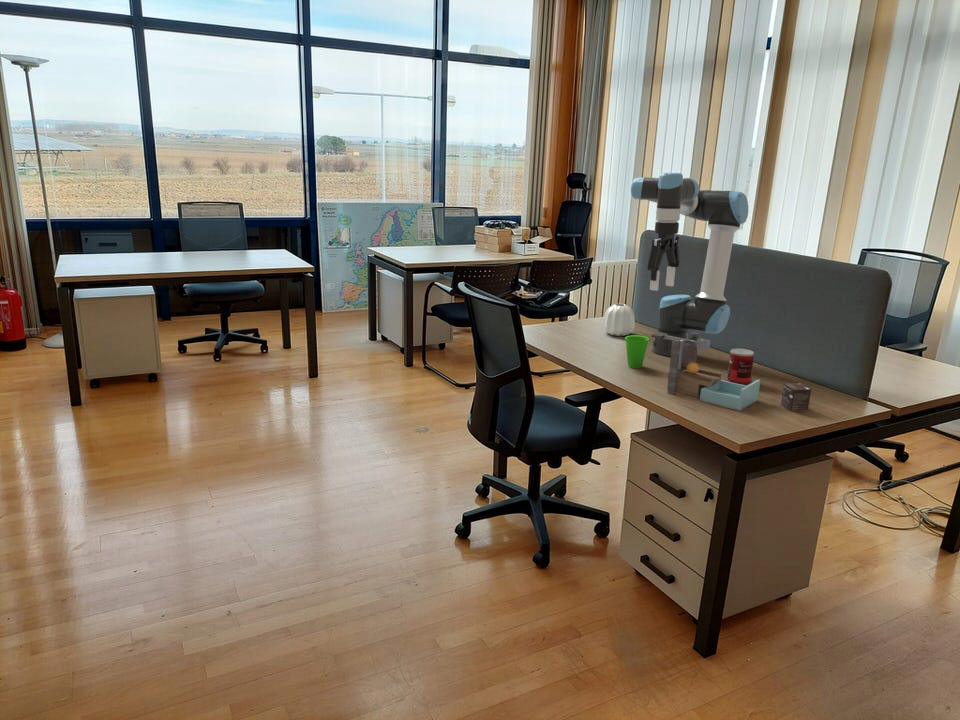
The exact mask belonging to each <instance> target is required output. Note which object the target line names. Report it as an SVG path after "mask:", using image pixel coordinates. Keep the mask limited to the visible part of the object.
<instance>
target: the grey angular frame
mask: <svg viewBox="0 0 960 720" xmlns="http://www.w3.org/2000/svg"><path fill="white" fill-rule="evenodd" d="M691 336H694V337H695V339H694V341H698V340H699V339H700V337H699V336H700V333H699V332H695V331H691V332H690V336H689V337H691ZM680 342H681V341H680V340H675V339H673V340H672V348H671V356H670V358H669V359H670V360H669V362H670V363H669V370H668V371H669V372H668V374H667V375H668V377H667V394H670V395H676V394H677V393H680V394H684V395H689V396H692V397H696V398H698V397H700V394H701V389H702V388H704V387H706V386H709V387H711V386H713V385H715V384H717V383H718V382H720V381H721V380H722V375H723V374H722V373H719V372H718V373H717V372H715V371H709V370H705V369H700V368H699V370H698V372H697V373H696V374H689V373H688V372H687V370H684V371H682V372H679V371H678V364H679V353H680ZM697 355H698V349H697V345H693V344H690V348H689V358H688V364H689V363H696V364H697V357H698V356H697Z"/></svg>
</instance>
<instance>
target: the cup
mask: <svg viewBox="0 0 960 720" xmlns="http://www.w3.org/2000/svg"><path fill="white" fill-rule="evenodd" d="M624 340H625V346H626V355H627V357H626V358H627V365H628V367H629V368H632V369H640V368H642V367H643V365H644V360H645V356H646V351H647V347H648V343H649V341H650V338H649V337H648V336H643V335H638V334H637V335H636V334H635V335H633V334H632V335H631V334H629V335H625V337H624Z"/></svg>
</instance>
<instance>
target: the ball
mask: <svg viewBox="0 0 960 720" xmlns="http://www.w3.org/2000/svg"><path fill="white" fill-rule="evenodd" d="M699 367H700V366H699V365H698V363H697V362H696V363H689V364H688V365H687V368H686V370H687V372H688V373H689V374H696V373H697V372H698V370H699V369H700V368H699Z"/></svg>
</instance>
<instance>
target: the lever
mask: <svg viewBox="0 0 960 720" xmlns="http://www.w3.org/2000/svg"><path fill="white" fill-rule="evenodd" d="M690 336H691V335H690ZM690 336H688V338H686V339H684V338H679V337H673V336H668V334H667V333H661V332H658V331H657V332H655V333H653V334H651V338H654V339H655V338H660V339H662V338H663V339H668V340H673V339H675V340H680V341H681V342H680V353H679V364H678V371H679V372H682V371H684V370H686V368H687V365H688V358H689V348H690V344H693V345H697V350H700V351H707V350H709V349H710V347H711V339H707V338H698V341H694V339H695V337H694V336H691V337H690Z"/></svg>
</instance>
